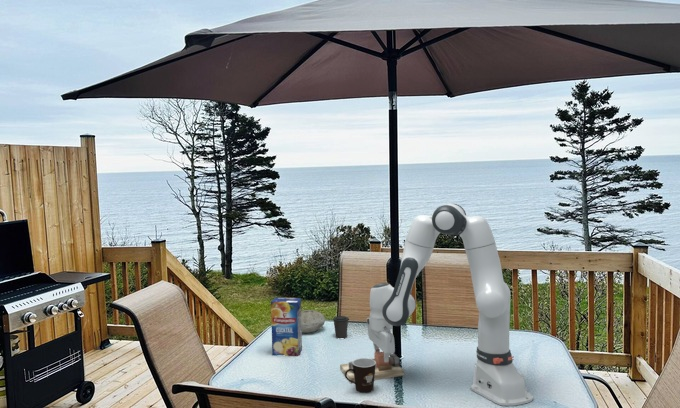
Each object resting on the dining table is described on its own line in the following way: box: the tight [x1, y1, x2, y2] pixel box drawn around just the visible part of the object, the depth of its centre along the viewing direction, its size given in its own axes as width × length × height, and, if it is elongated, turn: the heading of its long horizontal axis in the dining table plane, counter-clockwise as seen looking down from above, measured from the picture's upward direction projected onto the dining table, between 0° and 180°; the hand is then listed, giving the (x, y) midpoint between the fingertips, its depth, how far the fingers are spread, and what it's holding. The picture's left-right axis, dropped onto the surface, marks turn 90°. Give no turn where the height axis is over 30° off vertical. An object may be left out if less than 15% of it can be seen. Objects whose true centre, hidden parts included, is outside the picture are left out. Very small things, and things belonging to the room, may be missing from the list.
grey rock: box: [301, 309, 326, 334], centre depth 248 cm, size 18×18×10 cm
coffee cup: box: [332, 315, 350, 339], centre depth 237 cm, size 8×8×10 cm
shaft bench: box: [339, 353, 405, 384], centre depth 194 cm, size 14×22×5 cm, turn 107°
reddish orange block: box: [373, 351, 389, 368], centre depth 195 cm, size 4×4×5 cm
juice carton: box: [270, 297, 303, 357], centre depth 217 cm, size 12×8×24 cm, turn 82°
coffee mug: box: [344, 357, 376, 394], centre depth 179 cm, size 12×9×10 cm
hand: (381, 357), depth 195 cm, fingers open, 8 cm apart
